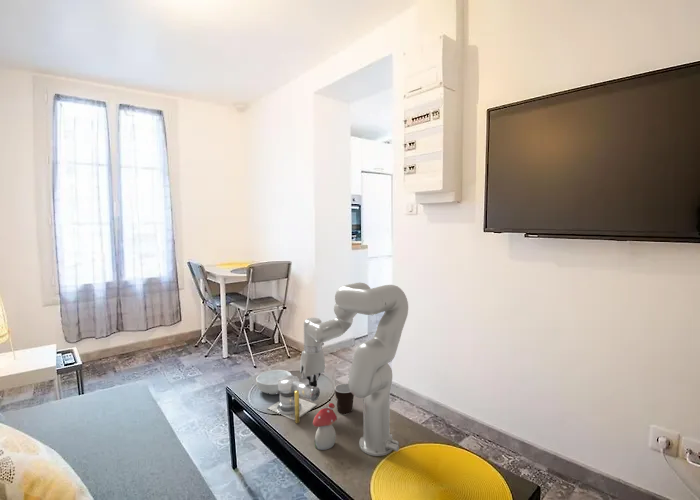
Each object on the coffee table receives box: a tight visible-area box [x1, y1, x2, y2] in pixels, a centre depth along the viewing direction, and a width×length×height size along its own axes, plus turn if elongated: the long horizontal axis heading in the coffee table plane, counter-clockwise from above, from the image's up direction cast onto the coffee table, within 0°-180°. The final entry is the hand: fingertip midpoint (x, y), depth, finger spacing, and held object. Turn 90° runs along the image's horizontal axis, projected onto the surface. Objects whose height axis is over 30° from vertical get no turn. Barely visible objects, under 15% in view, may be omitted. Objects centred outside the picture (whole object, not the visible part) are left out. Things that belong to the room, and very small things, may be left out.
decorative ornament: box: [312, 402, 338, 451], centre depth 133 cm, size 9×6×15 cm
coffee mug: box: [334, 383, 355, 415], centre depth 159 cm, size 12×9×10 cm
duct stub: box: [267, 390, 318, 424], centre depth 158 cm, size 16×19×14 cm
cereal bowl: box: [255, 369, 292, 395], centre depth 176 cm, size 17×17×7 cm
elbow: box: [277, 374, 321, 402], centre depth 154 cm, size 20×9×6 cm, turn 56°
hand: (313, 388), depth 155 cm, fingers closed
